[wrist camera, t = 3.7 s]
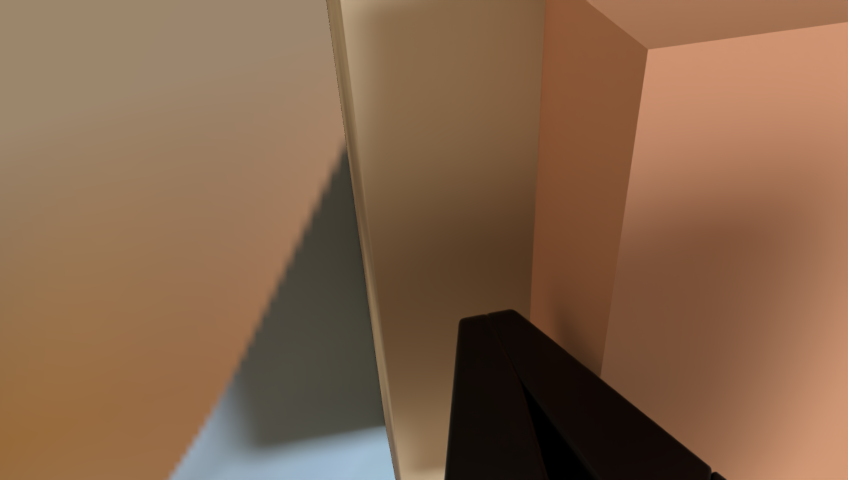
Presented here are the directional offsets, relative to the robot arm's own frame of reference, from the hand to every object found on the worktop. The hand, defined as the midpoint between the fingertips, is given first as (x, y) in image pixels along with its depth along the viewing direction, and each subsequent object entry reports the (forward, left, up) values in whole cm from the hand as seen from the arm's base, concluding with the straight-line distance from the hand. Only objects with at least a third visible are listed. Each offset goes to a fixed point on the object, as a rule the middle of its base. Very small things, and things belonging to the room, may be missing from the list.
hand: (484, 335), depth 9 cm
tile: (0, -4, -1) cm, 4 cm away
